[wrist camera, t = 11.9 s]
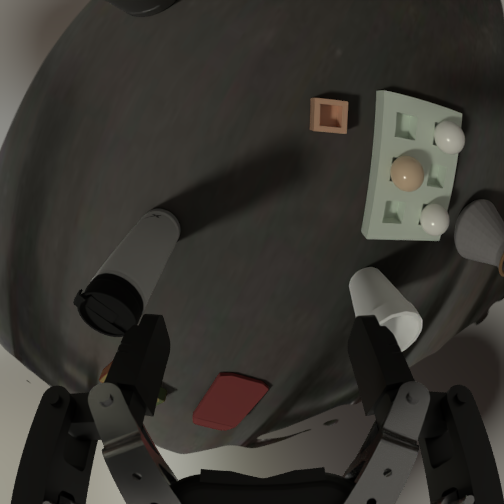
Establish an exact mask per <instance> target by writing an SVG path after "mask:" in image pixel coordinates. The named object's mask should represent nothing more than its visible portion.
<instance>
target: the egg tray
mask: <svg viewBox="0 0 504 504" xmlns="http://www.w3.org/2000/svg"><path fill="white" fill-rule="evenodd" d="M442 121H452V122H454V123H456V124H457V125H458V126H459V127H460V128H461V124H462V113H459V112H457V111H454V110H451V109H448V108H445V107H443V106H440V105H437V104H433V103H430V102H427V101H424V100H420V99H417V98H413V97H410V96H406V95H402V94H398V93H394V92H390V91H385V90H380V91H376V113H375V128H374V141H373V151H372V161H371V169H370V177H369V185H368V192H367V199H366V205H365V212H364V218H363V223H362V229H361V232H362V233H363V235H364V236H365V237H366V239H389V240H424V241H439V240H440V237H441V235H439V236H431V235H429V234H427V233H426V232H425V231H424V230H423V228H422V226H421V223H420V215H421V212H422V210H423V209H424V208H425V207H426V206H427V205H429V204H433V203H436V204H439V205H441V206H443V207H444V208H445V209H446V211H447V210H448V206H449V202H450V197H451V193H452V188H453V183H454V177H455V171H456V165H457V159H458V153H457V154H454V155H450V154H446V153H444V152H443V151H441V150H440V149H439V148H438V146H437V145H436V143H435V139H434V130H435V128H436V126H437V125H438V124H439V123H440V122H442ZM401 156H411V157H414V158H415V159H417V160H418V161H419V162H420V163H421V165H422V167H423V169H424V181H423V183H422V185H421V186H420V188H418V189H417V190H415V191H412V192H405V191H402V190H400V189H399V188H397V187H396V186H395V185H394V183H393V181H392V179H391V175H390V169H391V166H392V163H393V162H394V161H395V160H396V159H397V158H399V157H401Z"/></svg>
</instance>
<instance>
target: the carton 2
mask: <svg viewBox="0 0 504 504" xmlns="http://www.w3.org/2000/svg"><path fill="white" fill-rule="evenodd" d="M268 390H269V388H268V385H266V384H265V383H264V382H263V381H260V380H256V379H253V378H249V377H245V376H242V375H238V374H235V373H219V374H218V376H217V377H216V379H215V380H214V382H213V383H212V385H211V387H210V388H209V390H208V391H207V393H206V394H205V396H204V397H203V399H202V400H201V402H200V403H199V405H198V406H197V408H196V409H195V411H194V412H193V423H194V424H197V425H201V426H205V427H209V428H213V429H217V430H221V431H222V430H228V429H231V428H235V427H236V426H237V425H238V424H239V423H240V422H241V421H242V419H243V418H244V417H245V416H246V415H247V414H248V413H249V412H250V411H251V409H252V408H253V407H254V406H255V405H256V404H257V403H258V402H259V400H260V399H261V398H262V397H263V396H264V395H265V393H266V392H267V391H268Z"/></svg>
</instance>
